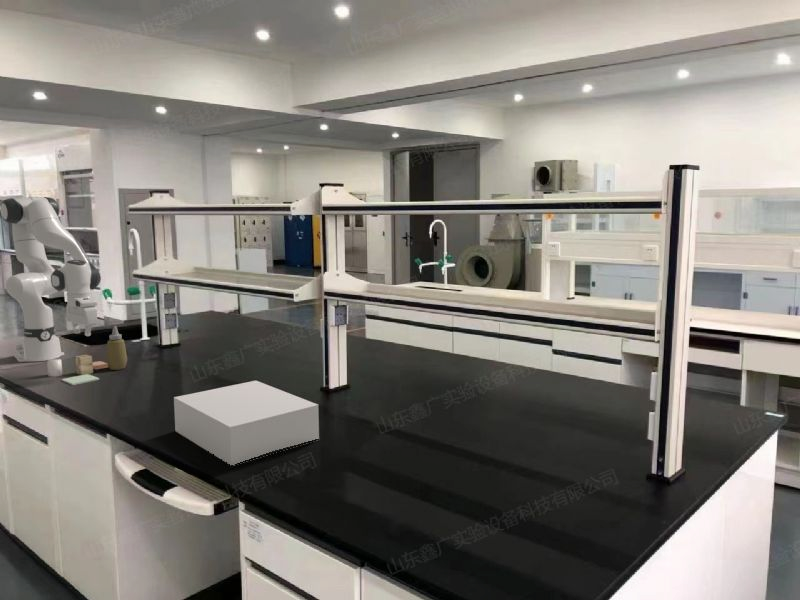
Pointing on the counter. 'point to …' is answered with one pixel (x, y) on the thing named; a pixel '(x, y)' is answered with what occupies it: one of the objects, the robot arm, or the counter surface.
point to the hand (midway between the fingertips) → (82, 334)
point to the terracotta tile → (99, 365)
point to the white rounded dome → (54, 367)
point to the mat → (80, 379)
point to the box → (245, 420)
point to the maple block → (84, 364)
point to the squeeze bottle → (116, 351)
